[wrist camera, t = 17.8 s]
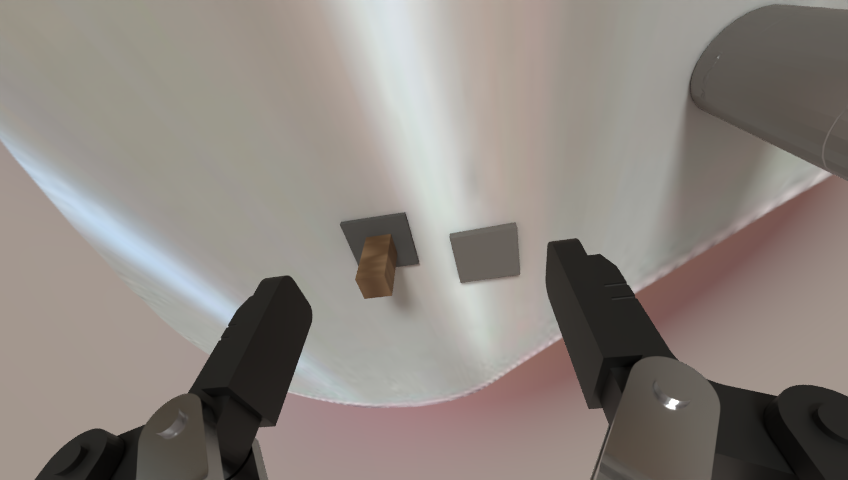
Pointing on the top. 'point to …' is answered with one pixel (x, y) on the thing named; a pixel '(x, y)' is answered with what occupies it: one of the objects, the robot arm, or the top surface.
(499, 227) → the tile
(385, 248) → the block
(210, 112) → the top surface
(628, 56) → the top surface
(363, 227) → the mat
